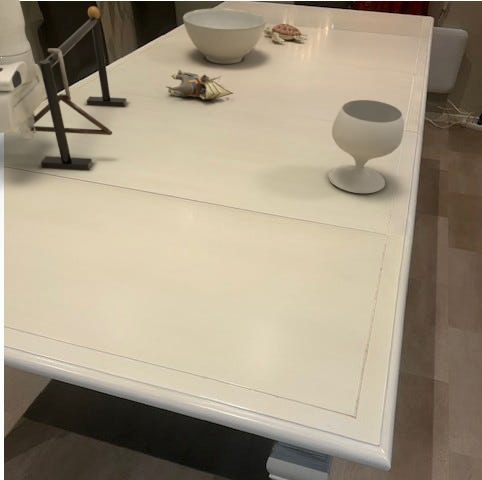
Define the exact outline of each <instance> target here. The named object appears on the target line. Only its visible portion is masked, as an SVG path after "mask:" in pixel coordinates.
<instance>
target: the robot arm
mask: <svg viewBox="0 0 482 480" xmlns="http://www.w3.org/2000/svg"><path fill="white" fill-rule="evenodd" d="M26 34H27V33H26V21H25V16H24V12H23V9H22V5H21V1H20V0H0V134H15V133H16V132H17V131H18V130H19V131H20V134H21V136H22V138H23V139H24V140H31V139H32V138H33V137H34V136H35V135H36V133H37V131H36V130H35V126H36V123H35V120H34V117H35V116H36V115H35V111H36V110H37V109H38V108H39V107H40V106H41V105H42V104H43V102H44V101H45V100H46V99H47V95H46V91H45V86H44V82H43V78H42V73H41V69H40V65H38V64H37V63H36V61H35V57H34V54H33V49H32V46H31V44H30V42H29V40H28V38H27V35H26ZM1 57H2V58H1Z"/></svg>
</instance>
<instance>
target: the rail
mask: <svg viewBox="0 0 482 480" xmlns="http://www.w3.org/2000/svg"><path fill="white" fill-rule="evenodd" d="M97 22H98V20H97V19H96V18H94V17H92V18H90V17H89V19H88V20H87V21H86V22H85V23H83V25H82V26H81V27H79V28H78V29H77V30H76V31H75V32H74V33H73V34H72V35H71V36H69V38H67V39H66V40H65V41H64V42H63V43H62V44H61V45H60V46H59V47H58V48H57V49H60V50H61V51H62V56H63V57H64V56H66V54H67V53H68V52H69V51H71V49H72V48H73V47H74V46H76V44H77V43H78V42H80V41H81V40H82V38H84V37H85V36H86V35H87V33H89V32H90V31H92V28H93V27H94V26H95V25H96V24H97ZM57 63H59V58H58V53H50V55H48V57H47V58H45V59H44V60H39V62H38V64H39V68H40V70H41V73H42V78H43V82H44V86H45V91H46V95H47V98H46V99H47V105H48V104H49V108H50V110H49V112H50V116H51V121H52V125H53V126H52V127H54V130H55V132H54V134H55V138H56V144H57V147H58V151H59V156H51V155H50V156H48V155H45V156H44V158H43V159H42V160H41V161H40V164H41V168H43V169H60V170H61V169H62V170H76V171H77V170H78V171H79V170H80V171H89V170H90V169H91V168H92V165H93V159H92V158H89V157H88V158H87V157H86V158H85V157H72V156H71V152H70V147H69V143H68V138H67V133H65V128H66V127H65V123H64V119H63V114H62V110H61V106H60V105H61V104H60V102H59V100H58V96H59V94H58V92H57V86H56V83H55V82H56V81H55V77H54V72H53V67H54V66H55V65H56V64H57Z"/></svg>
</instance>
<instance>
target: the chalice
mask: <svg viewBox="0 0 482 480" xmlns="http://www.w3.org/2000/svg"><path fill="white" fill-rule="evenodd" d="M404 128H405V124H404V117H403V114H402V111H401V110H400V109H399V108H397V107H396V106H394V105H391V104H389V103H386V102H382V101H378V100H372V99H371V100H369V99H357V100H352V101H351V100H350V101H348V102H346V103H344V104H343V105H342V106H341V107H340V109H339V111H338V112H337V114H336V116H335V119H334V121H333V124H332V127H331V135H332V139H333V141H334V144H335V145H336V146H337V147H338V148H339V149H340V150H342V151H343V152H344V153H346V154H348V155H349V156H351V157H352V158H353V159H354V164H355V165H353V164H352V165H350V164H349V165H346V164H345V165H341V166H337V167H335V168H333V169H331V170H330V171H329V173H328V179H329V182H331V183H332V185H334V186H335V187H337V188H339V189H341V190H344V191H346V192H350V193H356V194H371V193H376V192H379V191H381V190H383V188H384V187H385V185H386V180H385V179H384V177H383V175H381V174H380V173H379V172H377V171H376V170H374V169H371V168H369V167H365V165H366V163H367V162H368V161H370V160H372V159H378V158H382V157H385V156H388V155H390V154H392V153H393V152H394V151H396V150H397V149H398V148H399V147H400V145H401V144H402V140H403V137H404Z"/></svg>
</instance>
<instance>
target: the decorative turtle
mask: <svg viewBox="0 0 482 480" xmlns="http://www.w3.org/2000/svg"><path fill="white" fill-rule="evenodd" d="M263 33H264V34H265V35H267V36H271V39H272V40H273V41H274V42H277V43H283V42H285V40H297V41H306V38H305V37H307V36H308V33H304V32H301V31H300V29H298V28H297V27H295V26H293V25H292V24H288V23H280V24H277V25H274V26H273V27H265V28H264V30H263Z"/></svg>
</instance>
